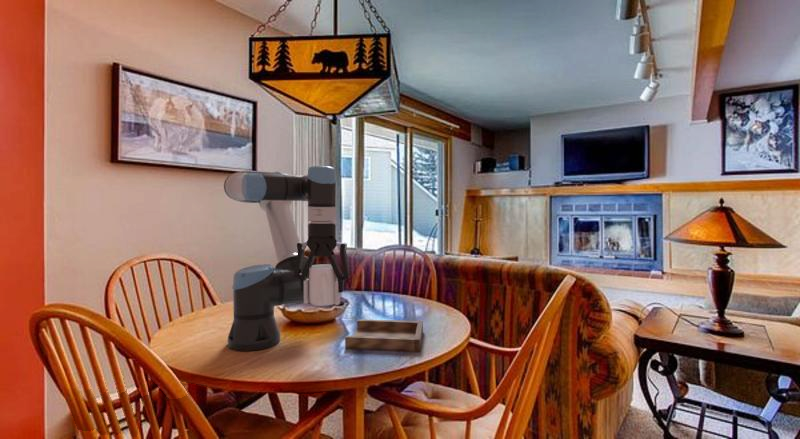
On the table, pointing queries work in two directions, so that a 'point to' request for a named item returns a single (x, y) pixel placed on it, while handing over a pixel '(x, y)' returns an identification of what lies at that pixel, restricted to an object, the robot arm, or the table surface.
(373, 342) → the tray
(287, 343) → the table surface
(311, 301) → the mug
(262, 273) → the robot arm
